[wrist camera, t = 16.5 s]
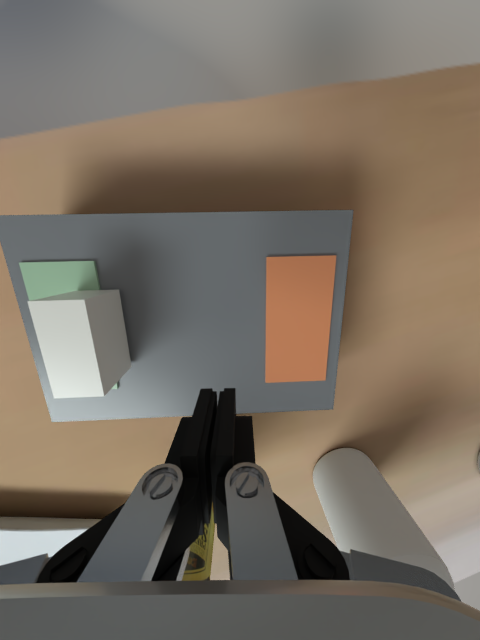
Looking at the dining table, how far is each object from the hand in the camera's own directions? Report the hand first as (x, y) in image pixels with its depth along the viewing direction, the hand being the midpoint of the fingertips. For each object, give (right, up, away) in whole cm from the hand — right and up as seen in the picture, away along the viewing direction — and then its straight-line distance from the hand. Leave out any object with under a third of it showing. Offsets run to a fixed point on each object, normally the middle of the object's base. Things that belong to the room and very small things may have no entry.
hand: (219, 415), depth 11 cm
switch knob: (-9, +4, +6) cm, 12 cm away
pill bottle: (+14, -15, +19) cm, 28 cm away
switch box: (-3, +6, +12) cm, 14 cm away
